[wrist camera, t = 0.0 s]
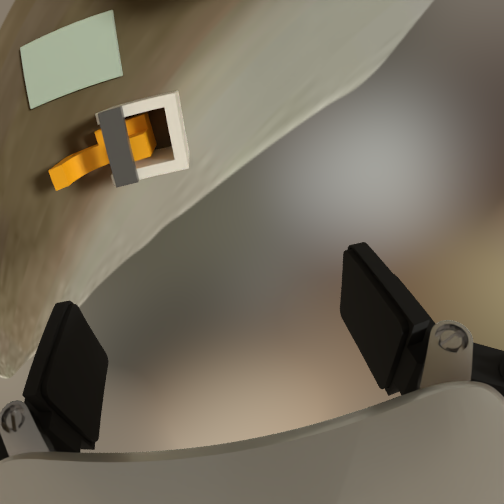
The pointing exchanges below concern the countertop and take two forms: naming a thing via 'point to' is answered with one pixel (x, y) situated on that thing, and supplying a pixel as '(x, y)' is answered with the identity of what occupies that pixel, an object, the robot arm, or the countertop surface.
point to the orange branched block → (104, 152)
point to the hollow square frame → (120, 145)
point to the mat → (71, 59)
